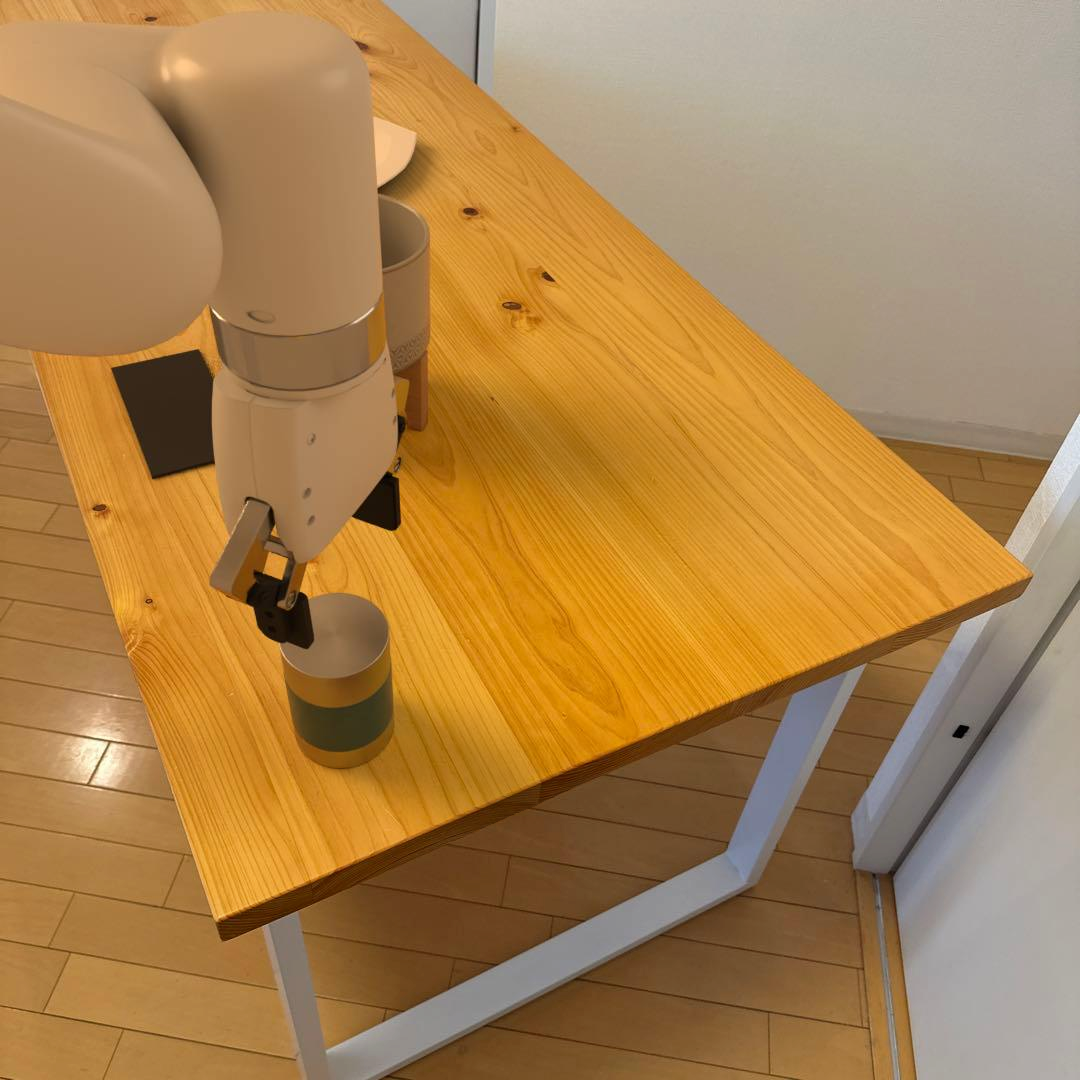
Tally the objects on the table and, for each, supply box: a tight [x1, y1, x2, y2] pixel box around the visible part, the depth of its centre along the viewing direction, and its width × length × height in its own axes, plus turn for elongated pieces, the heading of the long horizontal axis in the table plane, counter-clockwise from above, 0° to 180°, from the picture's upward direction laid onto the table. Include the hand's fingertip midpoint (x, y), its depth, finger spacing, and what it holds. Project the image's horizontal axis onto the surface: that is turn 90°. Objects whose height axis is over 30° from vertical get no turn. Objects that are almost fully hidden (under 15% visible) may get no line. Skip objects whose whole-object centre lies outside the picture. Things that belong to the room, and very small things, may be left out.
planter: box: [378, 193, 431, 432], centre depth 85 cm, size 13×13×18 cm
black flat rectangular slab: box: [110, 348, 215, 480], centre depth 89 cm, size 16×8×1 cm, turn 28°
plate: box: [373, 116, 418, 190], centre depth 123 cm, size 23×23×2 cm
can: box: [278, 592, 395, 769], centre depth 64 cm, size 7×7×10 cm
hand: (333, 576), depth 57 cm, fingers open, 9 cm apart
